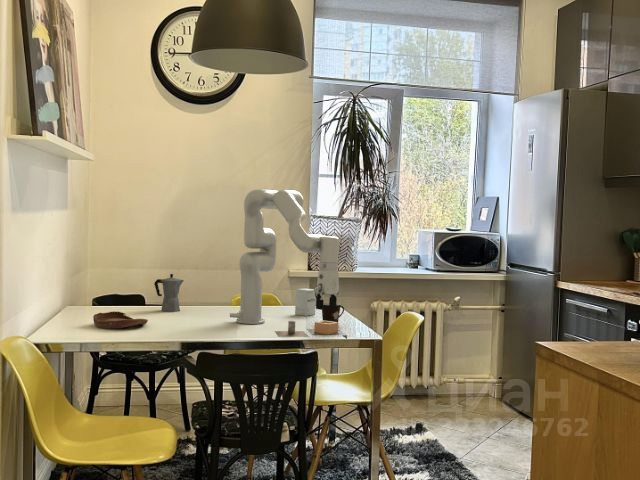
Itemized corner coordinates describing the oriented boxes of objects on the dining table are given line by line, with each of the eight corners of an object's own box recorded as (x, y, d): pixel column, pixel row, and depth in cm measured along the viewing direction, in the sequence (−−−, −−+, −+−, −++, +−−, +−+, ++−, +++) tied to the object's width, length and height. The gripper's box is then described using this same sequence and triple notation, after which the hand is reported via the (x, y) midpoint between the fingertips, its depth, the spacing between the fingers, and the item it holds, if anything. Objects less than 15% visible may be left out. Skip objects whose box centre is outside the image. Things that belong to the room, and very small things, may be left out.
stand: (278, 340, 259) (278, 323, 259) (274, 334, 271) (275, 318, 270) (308, 340, 261) (309, 323, 261) (303, 334, 273) (304, 319, 273)
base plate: (312, 338, 265) (312, 326, 264) (306, 332, 278) (306, 320, 278) (346, 338, 267) (347, 326, 267) (339, 332, 281) (339, 320, 281)
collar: (328, 334, 268) (329, 324, 268) (314, 332, 272) (314, 322, 272) (338, 332, 274) (338, 322, 274) (323, 329, 278) (324, 320, 277)
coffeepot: (178, 308, 334) (179, 272, 333) (187, 311, 326) (188, 274, 326) (149, 310, 324) (150, 273, 323) (158, 313, 317) (159, 275, 316)
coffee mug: (323, 328, 291) (324, 305, 291) (318, 324, 299) (319, 302, 299) (348, 327, 294) (349, 305, 294) (342, 324, 303) (343, 302, 302)
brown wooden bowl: (157, 325, 283) (157, 314, 283) (128, 333, 264) (129, 320, 264) (113, 321, 291) (113, 309, 291) (82, 327, 272) (82, 315, 272)
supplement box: (306, 316, 324) (307, 290, 323) (294, 314, 328) (295, 288, 328) (315, 314, 330) (316, 289, 329) (303, 313, 334) (304, 287, 334)
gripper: (324, 268, 263) (321, 311, 263) (347, 266, 277) (345, 307, 278) (308, 266, 267) (306, 309, 268) (332, 264, 281) (330, 305, 282)
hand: (326, 308), depth 273 cm, fingers open, 9 cm apart
